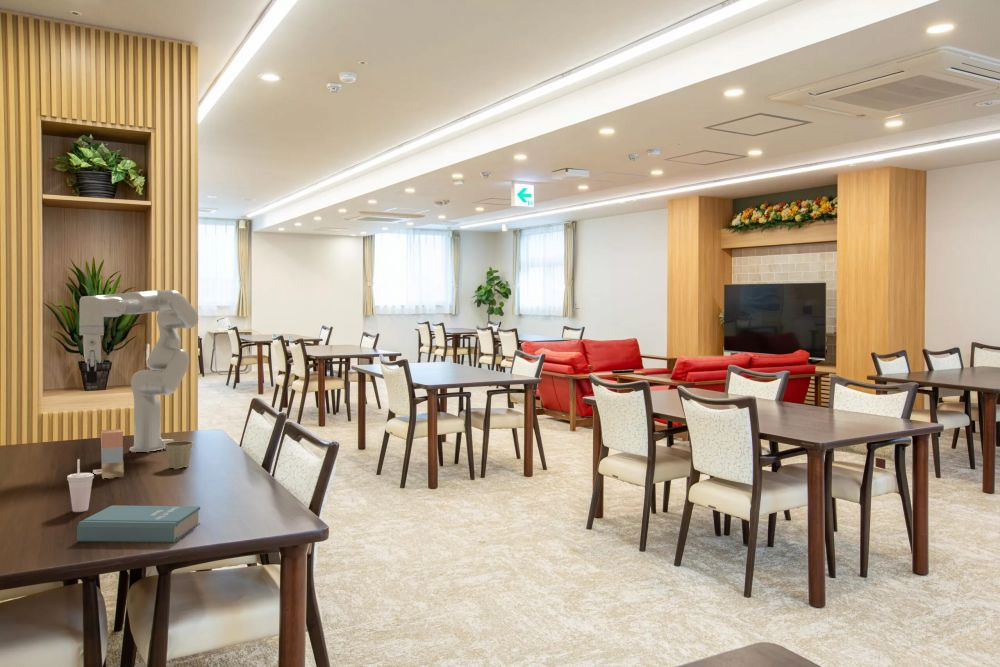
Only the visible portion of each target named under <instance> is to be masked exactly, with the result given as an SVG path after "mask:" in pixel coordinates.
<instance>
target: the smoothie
mask: <svg viewBox="0 0 1000 667" xmlns="http://www.w3.org/2000/svg"><path fill="white" fill-rule="evenodd" d="M80 463H81V461H80V458H78V459H77V464H76V465H77V470H76V471H77V472H76V473H71V474H68V475H67V476H66V477H67V478H66V480H67V481H68V486H69V487H68V488H69V494H70V501H71V509H72V512H73V513H82V512H86V511H88V510H89V505H90V500H91V492H92V485H93V479H94V478H95V475H94V474H93V472H92V473H91V472H81V470H80V469H81V467H80V466H81V464H80Z"/></svg>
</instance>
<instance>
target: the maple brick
mask: <svg viewBox="0 0 1000 667" xmlns="http://www.w3.org/2000/svg"><path fill="white" fill-rule="evenodd" d="M101 469H102V474H101V477H102V480H105V479H104V478H108V479H114V477H119V478H124V472H123V470H124V461H123V462H118V463H105V464H102V463H101Z"/></svg>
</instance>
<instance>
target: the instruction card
mask: <svg viewBox="0 0 1000 667" xmlns="http://www.w3.org/2000/svg"><path fill="white" fill-rule="evenodd" d="M92 473H94V474H96V475H102V468H99V469H92ZM123 473H125V469H123Z"/></svg>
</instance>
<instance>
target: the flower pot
mask: <svg viewBox="0 0 1000 667" xmlns="http://www.w3.org/2000/svg"><path fill="white" fill-rule="evenodd" d="M193 444H194V442H193V441H189V440H178V441H177V440H176V441H175V440H174V442H168V443H165V444H164V446H165V449H164V450H165V452H166V456H167V462H168V464H167V465H168V468H169V467H170V468H178V467H184V466H188V467H189V463H190V456H191V449H192V447H193ZM170 468H169V469H170Z"/></svg>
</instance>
